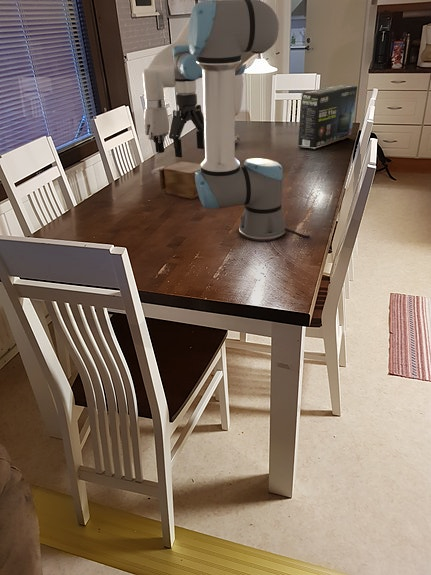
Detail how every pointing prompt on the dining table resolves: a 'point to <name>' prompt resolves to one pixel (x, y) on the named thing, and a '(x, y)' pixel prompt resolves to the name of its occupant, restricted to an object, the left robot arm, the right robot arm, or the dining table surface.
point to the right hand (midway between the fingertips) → (189, 152)
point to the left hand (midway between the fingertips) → (160, 152)
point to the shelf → (161, 175)
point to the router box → (326, 115)
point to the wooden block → (182, 179)
